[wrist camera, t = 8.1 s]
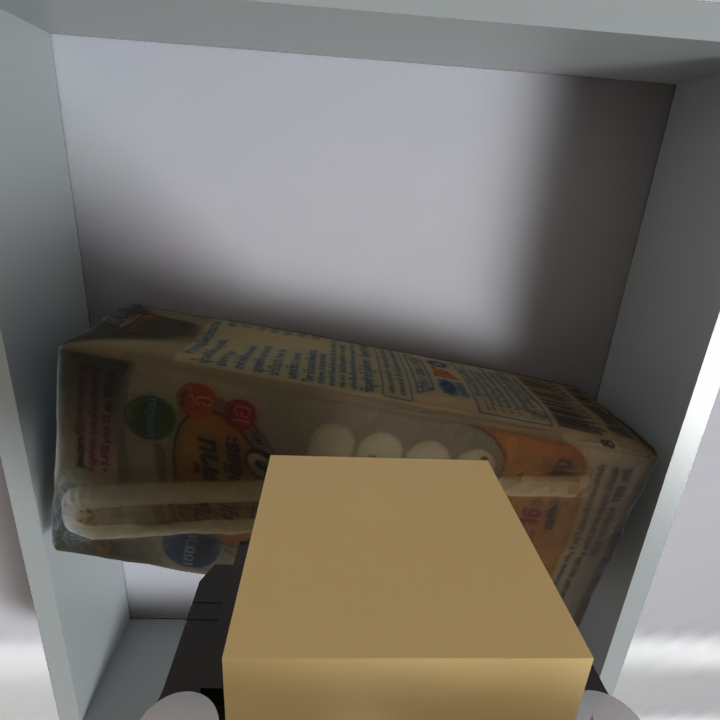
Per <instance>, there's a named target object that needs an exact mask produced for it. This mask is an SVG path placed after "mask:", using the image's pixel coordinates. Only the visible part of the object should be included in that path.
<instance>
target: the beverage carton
mask: <svg viewBox="0 0 720 720" xmlns="http://www.w3.org/2000/svg"><path fill="white" fill-rule="evenodd" d="M56 419H57V437H56V457H55V470H54V496H53V503H52V543H53V546H54V549H56V550H58V551H65V552H72V553H78V554H85V555H91V556H97V557H102V558H107V559H114V560H121V561H126V562H135V563H144V564H151V565H155V566H160V567H165V568H169V569H175V570H180V571H185V572H192V573H199V574H207V573H208V572H209V570H210V569H211V568H212V567H213V566H214V565H215V564H230V565H233V564H234V560H235V556H236V553H237V549H238V545H239V543H240V541H250V539H251V535H252V531H253V527H254V522H255V518H256V514H257V510H258V506H259V501H260V497H261V493H262V489H263V485H264V480H265V476H266V472H267V468H268V464H269V460H270V455H287V456H327V457H367V458H407V459H447V460H487V461H488V462H489V464H490V466H491V468H492V469H493V471H494V473H495V475H496V477H497V479H498V481H499V482H500V484H501V486H502V488H503V490H504V492H505V494H506V495H507V497H508V499H509V501H510V503H511V505H512V507H513V509H514V510H515V512H516V514H517V516H518V518H519V520H520V522H521V523H522V525H523V527H524V529H525V531H526V533H527V535H528V536H529V538H530V540H531V542H532V544H533V546H534V548H535V550H536V551H537V553H538V555H539V557H540V559H541V561H542V563H543V564H544V566H545V568H546V570H547V572H548V574H549V576H550V578H551V579H552V581H553V583H554V585H555V587H556V589H557V591H558V592H559V594H560V596H561V598H562V600H563V602H564V604H565V605H566V607H567V609H568V611H569V613H570V615H571V617H572V619H573V620H574V622H575V624H576V626H577V628H578V627H579V625H580V624H581V622H582V619H583V616H584V614H585V612H586V610H587V608H588V605H589V602H590V600H591V597H592V594H593V592H594V590H595V588H596V586H597V585H598V583H599V581H600V579H601V577H602V574H603V572H604V570H605V568H606V566H607V565H608V564H609V563H610V562H611V560H612V557H613V555H614V553H615V550H616V548H617V545H618V543H619V541H620V540H621V537H622V534H623V531H624V528H625V525H626V523H627V520H628V518H629V516H630V513H631V511H632V509H633V507H634V506H635V504H636V502H637V501H638V499H639V497H640V496H641V494H642V492H643V490H644V489H645V486H646V484H647V482H648V479H649V477H650V476H651V474H652V472H653V470H654V468H655V466H656V464H657V462H658V455H657V453H656V450H655V449H654V448H653V447H652V446H651V445H650V444H649V443H648V442H647V441H646V440H644V439H643V438H642V437H641V436H640V435H638V434H637V433H636V432H635V431H634V430H633V429H632V428H630V427H629V426H628V425H627V424H625V423H624V422H623V421H621V420H620V419H619V418H617V417H616V416H614V415H613V414H612V413H611V412H610V411H609V410H607V409H606V408H605V407H603V406H602V405H600V404H598V403H597V402H596V401H595V400H594V399H593V398H592V397H590V396H589V395H588V394H586V393H585V392H583V391H582V390H580V389H578V388H573V387H568V386H564V385H560V384H557V383H553V382H549V381H544V380H540V379H535V378H531V377H526V376H521V375H516V374H511V373H506V372H501V371H496V370H491V369H486V368H481V367H476V366H471V365H466V364H461V363H456V362H450V361H444V360H438V359H433V358H427V357H423V356H419V355H414V354H407V353H402V352H398V351H393V350H387V349H382V348H376V347H371V346H365V345H360V344H355V343H349V342H344V341H339V340H334V339H329V338H324V337H318V336H313V335H307V334H302V333H297V332H292V331H286V330H280V329H275V328H269V327H264V326H258V325H253V324H248V323H242V322H236V321H229V320H223V319H216V318H208V317H201V316H194V315H189V314H185V313H179V312H173V311H168V310H162V309H156V308H152V307H148V306H143V305H133V306H131V307H129V308H120V309H118V310H117V311H116V312H114V313H113V314H112V315H109V316H106V317H105V318H103V319H102V320H101V321H100V322H99V323H97V324H96V325H95V326H93V327H92V328H90V329H88V330H86V331H84V332H82V333H80V334H78V335H76V336H74V337H73V338H71V339H69V340H67V341H66V342H64V343H62V344H61V345H60V347H59V349H58V365H57V403H56Z"/></svg>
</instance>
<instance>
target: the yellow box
mask: <svg viewBox="0 0 720 720" xmlns="http://www.w3.org/2000/svg"><path fill="white" fill-rule="evenodd" d="M593 660H594V658H593V656H592V654H591V652H590V650H589V648H588V646H587V645H586V643H585V641H584V639H583V637H582V635H581V633H580V632H579V630H578V628H577V626H576V624H575V622H574V620H573V619H572V617H571V615H570V613H569V611H568V609H567V607H566V605H565V604H564V602H563V600H562V598H561V596H560V594H559V592H558V591H557V589H556V587H555V585H554V583H553V581H552V579H551V578H550V576H549V574H548V572H547V570H546V568H545V566H544V564H543V563H542V561H541V559H540V557H539V555H538V553H537V551H536V550H535V548H534V546H533V544H532V542H531V540H530V538H529V536H528V535H527V533H526V531H525V529H524V527H523V525H522V523H521V522H520V520H519V518H518V516H517V514H516V512H515V510H514V509H513V507H512V505H511V503H510V501H509V499H508V497H507V495H506V494H505V492H504V490H503V488H502V486H501V484H500V482H499V481H498V479H497V477H496V475H495V473H494V471H493V469H492V468H491V466H490V464H489V462H488V461H487V460H447V459H407V458H367V457H327V456H287V455H270V460H269V464H268V468H267V472H266V476H265V480H264V485H263V489H262V493H261V497H260V501H259V506H258V510H257V514H256V518H255V522H254V527H253V531H252V535H251V539H250V543H249V547H248V552H247V556H246V560H245V564H244V568H243V573H242V577H241V581H240V585H239V589H238V593H237V598H236V602H235V606H234V610H233V614H232V619H231V623H230V627H229V631H228V635H227V640H226V644H225V648H224V652H223V656H222V668H223V686H224V704H225V720H575V719H576V716H577V712H578V709H579V706H580V702H581V699H582V696H583V693H584V689H585V686H586V683H587V679H588V676H589V673H590V670H591V666H592V663H593Z"/></svg>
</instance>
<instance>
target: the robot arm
mask: <svg viewBox="0 0 720 720" xmlns="http://www.w3.org/2000/svg"><path fill="white" fill-rule="evenodd" d="M249 543H250V541H240V543H239V545H238V549H237V553H236V556H235V560H234V564H233V565H230V564H215V565H214V566H213V567H212V568H211V569H210V570H209V572H208V573H207V574H206V575H205V576H204V577H203V578H202V580H201V581H200V582H199V585H198V588H197V591H196V594H195V597H194V600H193V605H192V606H191V609H190V612H189V614H188V617H187V623H186V624H185V626H184V629H183V632H182V635H181V638H180V641H179V644H178V647H177V650H176V653H175V656H174V659H173V662H172V665H171V668H170V670H169V673H168V676H167V679H166V682H165V685H164V688H163V691H162V693H161V695H160V697H159V699H158V701H157V703H155V704H154V705H153V706H151V707H150V708H149V709H148V710H147V711H146V712H145V714H144V715H143V716H142V717H141V719H140V720H225V704H224V686H223V668H222V656H223V652H224V648H225V644H226V640H227V635H228V631H229V627H230V623H231V619H232V614H233V610H234V606H235V602H236V598H237V593H238V589H239V585H240V581H241V577H242V573H243V568H244V564H245V560H246V556H247V552H248V547H249ZM575 720H640V719H639V718H638V717H637V715H636V714H635V713H634V712H633V711H632V710H631V709H630V708H629V707H627V706H626V705H625V704H624V703H622V702H621V701H619V700H618V699H616V698H614V697H612V696H610V695H609V694H608V692H607V691H606V689H605V687H604V685H603V683H602V681H601V679H600V678H599V676H598V674H597V672H596V670H595V668H594V666H593V664H592V666H591V670H590V673H589V676H588V679H587V683H586V686H585V689H584V693H583V696H582V699H581V702H580V706H579V709H578V712H577V716H576V719H575Z"/></svg>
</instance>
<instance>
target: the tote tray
mask: <svg viewBox="0 0 720 720" xmlns="http://www.w3.org/2000/svg"><path fill="white" fill-rule="evenodd" d="M50 34H63V35H75V36H88V37H100V38H112V39H125V40H137V41H149V42H162V43H174V44H186V45H199V46H211V47H223V48H236V49H248V50H260V51H273V52H285V53H298V54H310V55H322V56H335V57H347V58H359V59H372V60H384V61H396V62H409V63H421V64H433V65H446V66H458V67H470V68H483V69H495V70H508V71H520V72H532V73H545V74H557V75H569V76H582V77H594V78H606V79H619V80H631V81H643V82H656V83H668V84H677V85H676V89H675V93H674V97H673V101H672V105H671V109H670V113H669V117H668V120H667V124H666V128H665V132H664V136H663V140H662V144H661V148H660V152H659V156H658V160H657V164H656V168H655V172H654V176H653V180H652V184H651V187H650V191H649V195H648V199H647V203H646V207H645V211H644V215H643V219H642V223H641V227H640V231H639V235H638V239H637V243H636V247H635V251H634V254H633V258H632V262H631V266H630V270H629V274H628V278H627V282H626V286H625V290H624V294H623V298H622V302H621V306H620V310H619V314H618V318H617V322H616V325H615V329H614V333H613V337H612V341H611V345H610V349H609V353H608V357H607V361H606V365H605V369H604V373H603V377H602V381H601V385H600V389H599V392H598V396H597V400H596V402H597V403H598V404H600V405H602V406H603V407H605V408H606V409H607V410H609V411H610V412H611V413H612V414H613V415H614V416H616V417H617V418H619V419H620V420H621V421H623V422H624V423H625V424H627V425H628V426H629V427H630V428H632V429H633V430H634V431H635V432H636V433H637V434H638V435H640V436H641V437H642V438H643V439H644V440H646V441H647V442H648V443H649V444H650V445H651V446H652V447H653V448H654V449H655V450H656V453H657V455H658V462H657V464H656V466H655V468H654V470H653V472H652V474H651V476H650V477H649V479H648V482H647V484H646V486H645V489H644V490H643V492H642V494H641V496H640V497H639V499H638V501H637V502H636V504H635V506H634V507H633V509H632V511H631V513H630V516H629V518H628V520H627V523H626V525H625V528H624V531H623V534H622V537H621V540H620V541H619V543H618V545H617V548H616V550H615V553H614V555H613V557H612V560H611V562H610V563H609V564H608V565H607V566H606V568H605V570H604V572H603V574H602V577H601V579H600V581H599V583H598V585H597V586H596V588H595V590H594V592H593V594H592V597H591V600H590V602H589V605H588V608H587V610H586V612H585V614H584V616H583V619H582V622H581V624H580V625H579V627H578V630H579V632H580V633H581V635H582V637H583V639H584V641H585V643H586V645H587V646H588V648H589V650H590V652H591V654H592V656H593V658H594V660H593V663H592V664H593V666H594V668H595V670H596V672H597V674H598V676H599V678H600V679H601V681H602V683H603V685H604V687H605V689H606V691H607V692H608V694H609V695H610V696H612V695H613V692H614V689H615V686H616V683H617V681H618V678H619V675H620V672H621V669H622V666H623V663H624V660H625V657H626V655H627V652H628V649H629V646H630V643H631V640H632V637H633V634H634V632H635V629H636V626H637V623H638V620H639V617H640V614H641V611H642V608H643V606H644V603H645V600H646V597H647V594H648V591H649V588H650V585H651V582H652V580H653V577H654V574H655V571H656V568H657V565H658V562H659V559H660V557H661V554H662V551H663V548H664V545H665V542H666V539H667V536H668V533H669V531H670V528H671V525H672V522H673V519H674V516H675V513H676V510H677V507H678V505H679V502H680V499H681V496H682V493H683V490H684V487H685V484H686V481H687V479H688V476H689V473H690V470H691V467H692V464H693V461H694V458H695V456H696V453H697V450H698V447H699V444H700V441H701V438H702V435H703V432H704V430H705V427H706V424H707V421H708V418H709V415H710V412H711V409H712V406H713V404H714V401H715V398H716V395H717V392H718V389H719V386H720V3H719V2H708V1H698V0H0V457H1V462H2V466H3V470H4V475H5V479H6V484H7V488H8V493H9V497H10V502H11V506H12V510H13V515H14V519H15V524H16V528H17V533H18V537H19V542H20V546H21V550H22V555H23V559H24V564H25V568H26V573H27V577H28V581H29V586H30V590H31V595H32V599H33V604H34V608H35V613H36V617H37V621H38V626H39V630H40V635H41V639H42V644H43V648H44V653H45V657H46V661H47V666H48V670H49V675H50V679H51V684H52V688H53V693H54V697H55V701H56V706H57V710H58V715H59V719H60V720H140V719H141V717H142V716H143V715H144V714H145V712H146V711H147V710H148V709H149V708H150V707H151V706H153V705H154V704H155V703H157V701H158V699H159V697H160V695H161V693H162V691H163V688H164V685H165V682H166V679H167V676H168V673H169V670H170V668H171V665H172V662H173V659H174V656H175V653H176V650H177V647H178V644H179V641H180V638H181V635H182V632H183V629H184V626H185V624H186V623H187V619H130V614H129V607H128V599H127V592H126V585H125V577H124V570H123V563H122V561H121V560H114V559H107V558H102V557H97V556H91V555H85V554H78V553H72V552H65V551H58V550H56V549H54V546H53V543H52V503H53V496H54V470H55V457H56V437H57V419H56V403H57V365H58V349H59V347H60V345H61V344H62V343H64V342H66V341H67V340H69V339H71V338H73V337H74V336H76V335H78V334H80V333H82V332H84V331H86V330H88V329H90V321H89V314H88V306H87V299H86V292H85V284H84V277H83V270H82V263H81V255H80V248H79V241H78V233H77V226H76V219H75V211H74V204H73V197H72V189H71V182H70V175H69V167H68V160H67V153H66V145H65V138H64V131H63V123H62V116H61V109H60V101H59V94H58V87H57V80H56V72H55V65H54V58H53V50H52V43H51V36H50Z"/></svg>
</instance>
